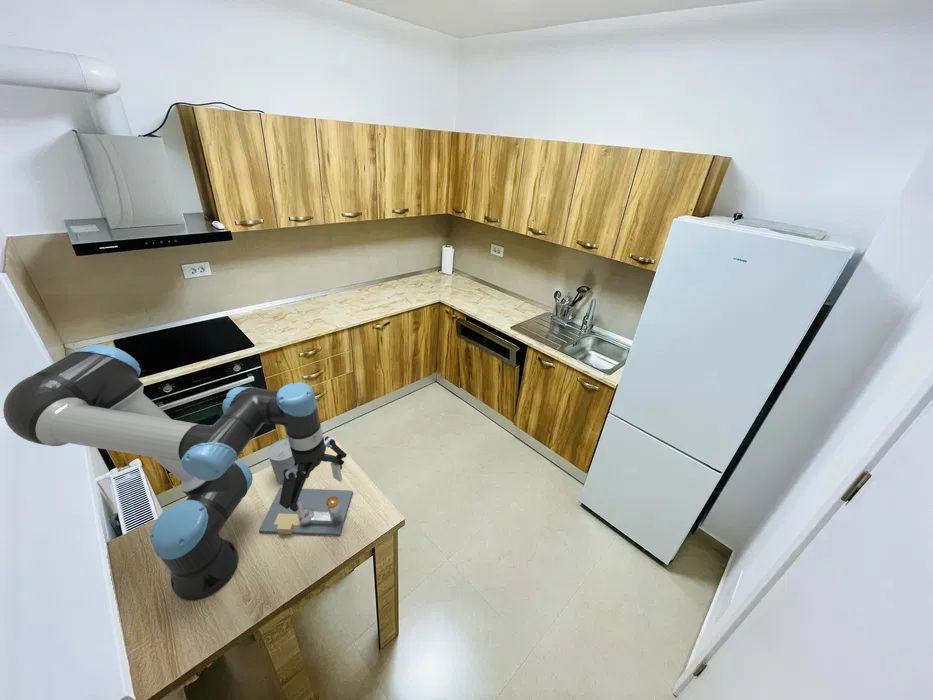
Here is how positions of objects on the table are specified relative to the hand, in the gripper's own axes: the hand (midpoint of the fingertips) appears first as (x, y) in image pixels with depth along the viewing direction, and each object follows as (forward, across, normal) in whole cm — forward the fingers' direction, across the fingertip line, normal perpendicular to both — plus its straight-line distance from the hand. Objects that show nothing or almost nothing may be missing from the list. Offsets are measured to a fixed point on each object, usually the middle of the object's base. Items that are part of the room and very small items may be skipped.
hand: (319, 495), depth 100 cm
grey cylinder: (+21, +9, +29) cm, 37 cm away
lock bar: (+19, +2, +6) cm, 20 cm away
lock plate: (+20, +2, +12) cm, 24 cm away
